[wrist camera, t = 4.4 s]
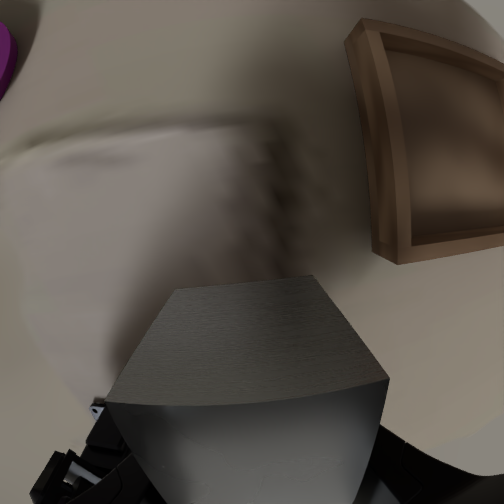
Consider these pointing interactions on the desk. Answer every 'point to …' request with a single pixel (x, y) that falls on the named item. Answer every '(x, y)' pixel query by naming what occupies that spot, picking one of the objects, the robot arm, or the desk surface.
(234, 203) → the desk surface
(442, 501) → the robot arm
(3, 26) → the mounting bracket
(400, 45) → the walnut tray
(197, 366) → the aluminium block
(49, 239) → the desk surface
